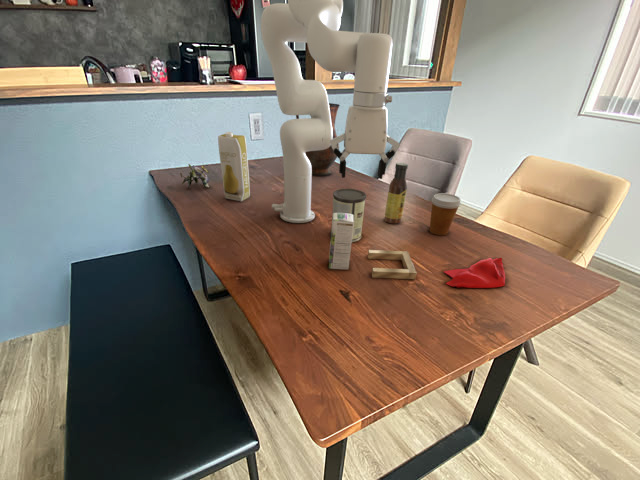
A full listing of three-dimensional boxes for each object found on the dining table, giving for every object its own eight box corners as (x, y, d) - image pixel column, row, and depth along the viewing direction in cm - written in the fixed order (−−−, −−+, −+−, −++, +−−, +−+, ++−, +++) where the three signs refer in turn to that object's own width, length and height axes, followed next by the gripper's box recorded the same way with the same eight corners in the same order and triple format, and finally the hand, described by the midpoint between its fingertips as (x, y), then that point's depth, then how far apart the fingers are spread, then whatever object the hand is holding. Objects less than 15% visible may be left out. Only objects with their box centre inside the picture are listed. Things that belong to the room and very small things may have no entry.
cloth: (468, 299, 94) (471, 291, 92) (431, 274, 103) (433, 267, 102) (532, 276, 105) (535, 270, 103) (493, 256, 114) (495, 249, 113)
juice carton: (222, 198, 144) (213, 132, 130) (233, 193, 150) (226, 128, 136) (242, 202, 142) (236, 135, 127) (252, 196, 148) (248, 131, 133)
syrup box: (328, 259, 108) (332, 212, 99) (348, 260, 108) (353, 213, 99) (328, 269, 103) (331, 220, 94) (349, 270, 103) (354, 221, 94)
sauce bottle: (400, 225, 131) (411, 167, 119) (383, 223, 131) (392, 165, 119) (401, 218, 136) (411, 162, 124) (384, 216, 137) (393, 160, 125)
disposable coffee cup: (437, 239, 122) (446, 204, 115) (419, 228, 129) (426, 194, 122) (458, 234, 126) (468, 200, 119) (439, 224, 133) (447, 191, 125)
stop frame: (372, 277, 100) (373, 271, 99) (367, 255, 111) (368, 249, 110) (415, 279, 101) (416, 273, 99) (406, 257, 111) (407, 251, 110)
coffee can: (335, 227, 126) (338, 186, 118) (364, 232, 124) (369, 191, 115) (326, 239, 119) (328, 196, 110) (356, 245, 116) (361, 201, 108)
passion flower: (208, 200, 157) (214, 181, 147) (182, 198, 152) (186, 179, 142) (203, 178, 160) (208, 159, 150) (177, 176, 155) (181, 156, 145)
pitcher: (343, 176, 176) (348, 104, 157) (303, 180, 168) (304, 105, 150) (327, 167, 187) (331, 99, 169) (289, 170, 179) (288, 100, 161)
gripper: (402, 100, 88) (391, 173, 98) (331, 97, 87) (327, 172, 97) (409, 104, 82) (397, 182, 92) (333, 101, 81) (329, 180, 91)
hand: (361, 176), depth 95 cm, fingers open, 9 cm apart
